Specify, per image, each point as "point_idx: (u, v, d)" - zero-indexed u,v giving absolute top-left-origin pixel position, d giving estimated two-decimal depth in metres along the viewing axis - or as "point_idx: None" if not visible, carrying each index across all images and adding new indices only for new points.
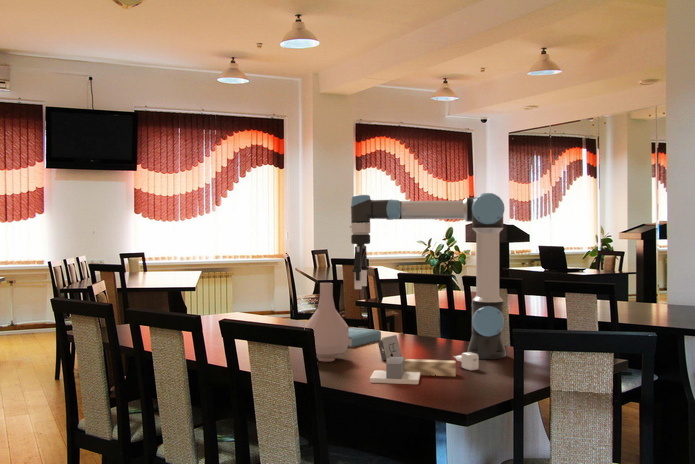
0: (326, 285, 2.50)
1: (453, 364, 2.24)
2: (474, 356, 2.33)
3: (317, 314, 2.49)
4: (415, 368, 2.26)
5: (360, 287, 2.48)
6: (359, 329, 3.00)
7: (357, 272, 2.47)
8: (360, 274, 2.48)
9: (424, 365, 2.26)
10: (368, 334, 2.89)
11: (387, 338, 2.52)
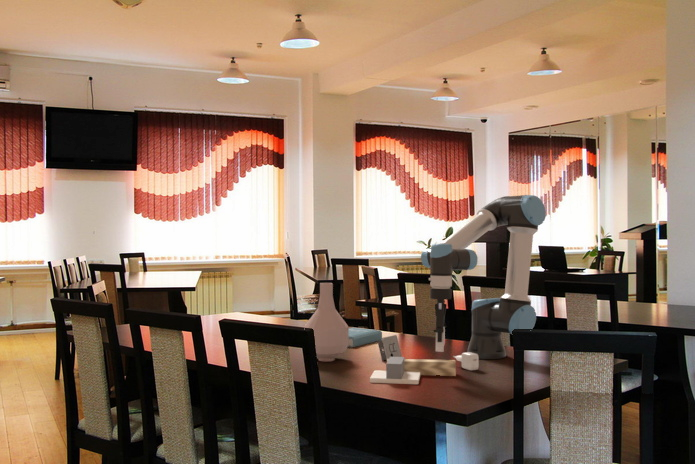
0: (326, 285, 2.50)
1: (453, 364, 2.24)
2: (474, 356, 2.33)
3: (317, 314, 2.49)
4: (416, 368, 2.26)
5: (442, 349, 2.19)
6: (360, 329, 3.00)
7: (439, 333, 2.18)
8: (442, 335, 2.19)
9: (425, 365, 2.26)
10: (369, 334, 2.89)
11: (387, 338, 2.52)
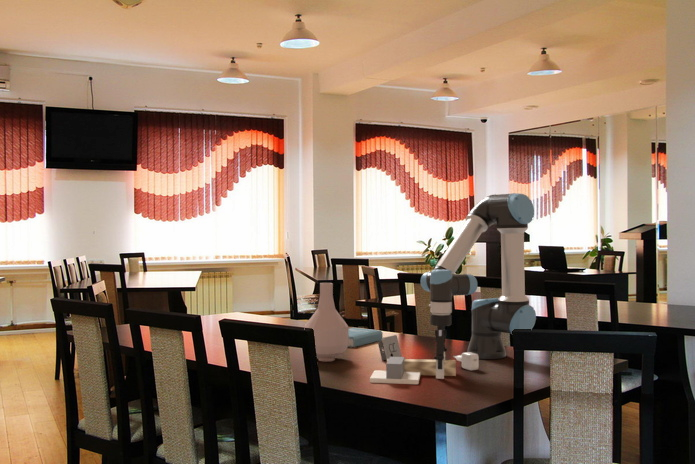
0: (326, 285, 2.50)
1: (453, 363, 2.25)
2: (474, 356, 2.33)
3: (317, 314, 2.49)
4: (416, 368, 2.26)
5: (442, 376, 2.19)
6: (360, 329, 3.00)
7: (440, 360, 2.18)
8: (443, 362, 2.19)
9: (425, 365, 2.26)
10: (370, 334, 2.89)
11: (387, 338, 2.52)
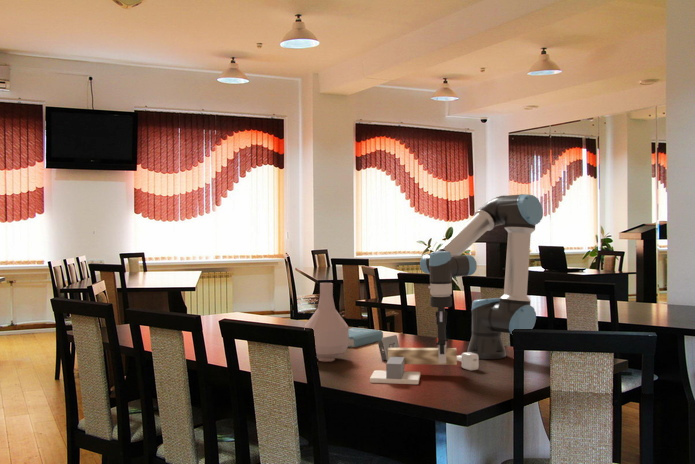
0: (326, 285, 2.50)
1: (454, 351, 2.24)
2: (474, 356, 2.33)
3: (317, 314, 2.49)
4: (417, 356, 2.26)
5: (445, 361, 2.24)
6: (361, 329, 3.00)
7: (441, 345, 2.23)
8: (444, 347, 2.24)
9: (426, 353, 2.26)
10: (370, 334, 2.89)
11: (387, 338, 2.52)
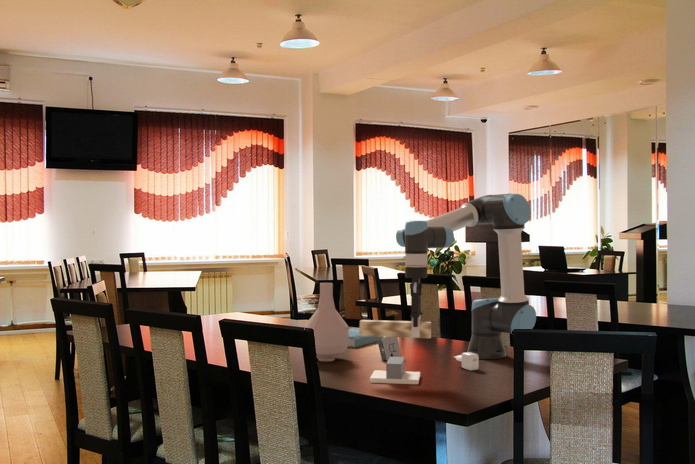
0: (326, 285, 2.50)
1: (428, 325, 2.15)
2: (474, 356, 2.33)
3: (317, 314, 2.49)
4: (389, 329, 2.17)
5: (418, 334, 2.15)
6: None
7: (415, 317, 2.14)
8: (418, 319, 2.15)
9: (399, 325, 2.17)
10: None
11: (387, 338, 2.52)
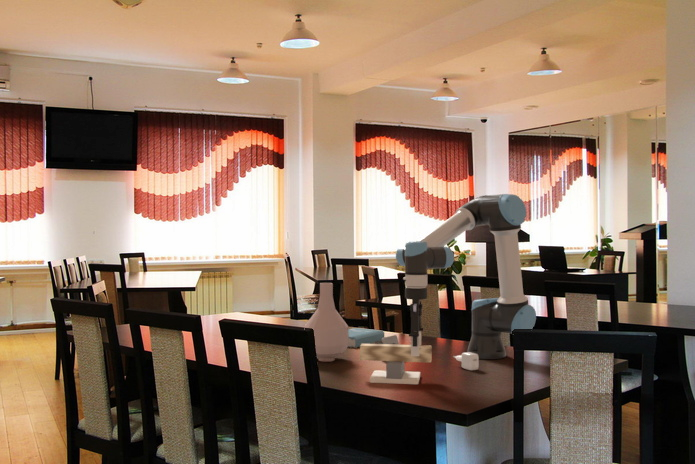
0: (326, 285, 2.50)
1: (428, 349, 2.15)
2: (474, 356, 2.33)
3: (317, 314, 2.49)
4: (390, 353, 2.18)
5: (418, 354, 2.12)
6: (362, 329, 2.99)
7: (414, 337, 2.11)
8: (418, 339, 2.12)
9: (399, 350, 2.17)
10: (371, 334, 2.88)
11: (387, 338, 2.52)
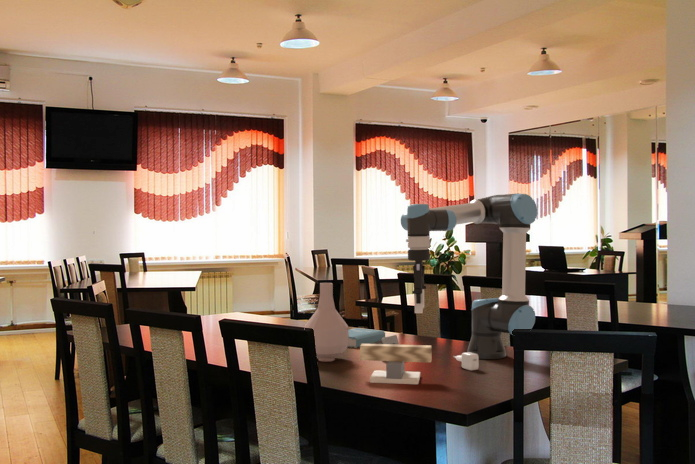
0: (326, 285, 2.50)
1: (428, 349, 2.15)
2: (474, 356, 2.33)
3: (317, 314, 2.49)
4: (390, 353, 2.18)
5: (421, 311, 2.15)
6: (363, 329, 2.99)
7: (418, 294, 2.14)
8: (421, 296, 2.15)
9: (399, 350, 2.17)
10: (372, 334, 2.88)
11: (387, 338, 2.52)
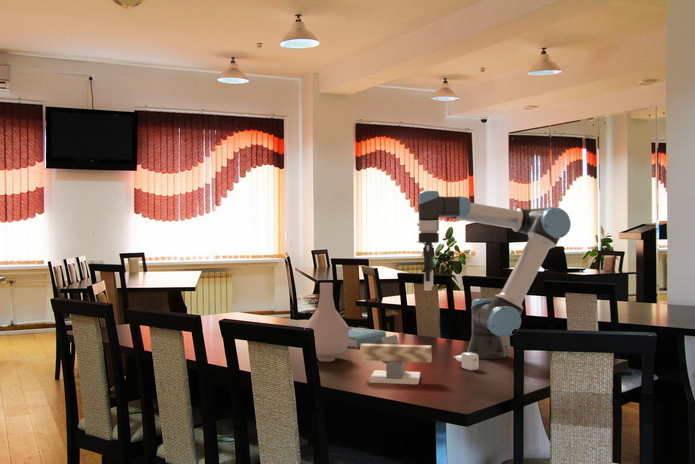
0: (326, 285, 2.50)
1: (428, 349, 2.15)
2: (474, 356, 2.33)
3: (317, 314, 2.49)
4: (390, 353, 2.18)
5: (430, 288, 2.35)
6: (364, 330, 2.99)
7: (427, 272, 2.34)
8: (430, 274, 2.35)
9: (399, 350, 2.17)
10: (373, 335, 2.88)
11: (387, 338, 2.52)
